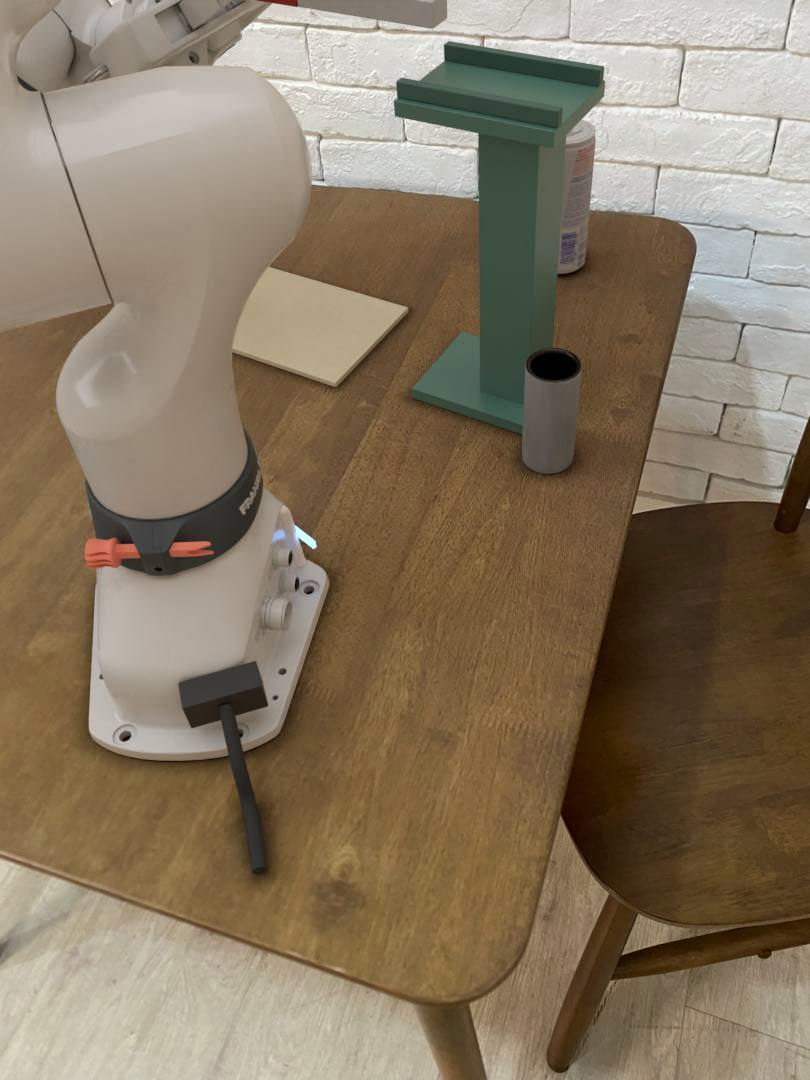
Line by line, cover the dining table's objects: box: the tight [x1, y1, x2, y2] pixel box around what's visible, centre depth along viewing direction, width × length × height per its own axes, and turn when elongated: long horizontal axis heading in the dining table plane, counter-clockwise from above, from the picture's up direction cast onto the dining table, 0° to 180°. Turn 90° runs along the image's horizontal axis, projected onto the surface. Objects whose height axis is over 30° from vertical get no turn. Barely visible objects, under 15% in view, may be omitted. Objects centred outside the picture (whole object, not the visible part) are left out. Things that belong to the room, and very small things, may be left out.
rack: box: [393, 40, 606, 436], centre depth 79 cm, size 13×10×29 cm
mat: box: [232, 266, 409, 388], centre depth 100 cm, size 24×14×1 cm, turn 59°
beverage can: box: [557, 119, 597, 275], centre depth 98 cm, size 6×6×15 cm
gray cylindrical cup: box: [521, 347, 583, 475], centre depth 79 cm, size 4×4×10 cm
